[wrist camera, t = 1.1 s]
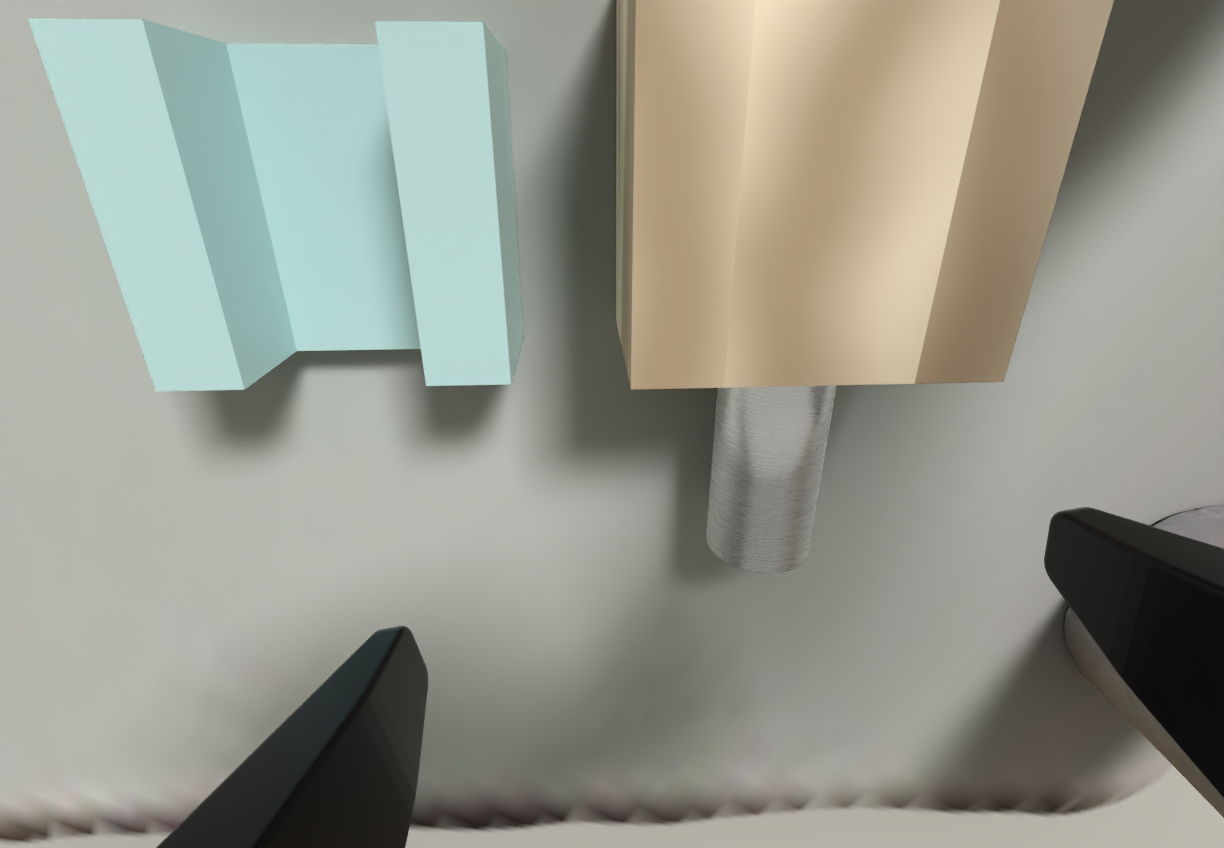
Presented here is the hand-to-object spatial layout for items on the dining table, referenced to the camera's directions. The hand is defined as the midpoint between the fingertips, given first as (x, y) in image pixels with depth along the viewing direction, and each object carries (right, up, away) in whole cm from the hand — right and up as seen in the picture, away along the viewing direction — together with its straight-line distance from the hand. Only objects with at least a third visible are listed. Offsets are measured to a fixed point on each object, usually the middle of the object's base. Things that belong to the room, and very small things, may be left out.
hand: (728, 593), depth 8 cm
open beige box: (+3, +10, +9) cm, 14 cm away
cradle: (-9, +9, +9) cm, 16 cm away
